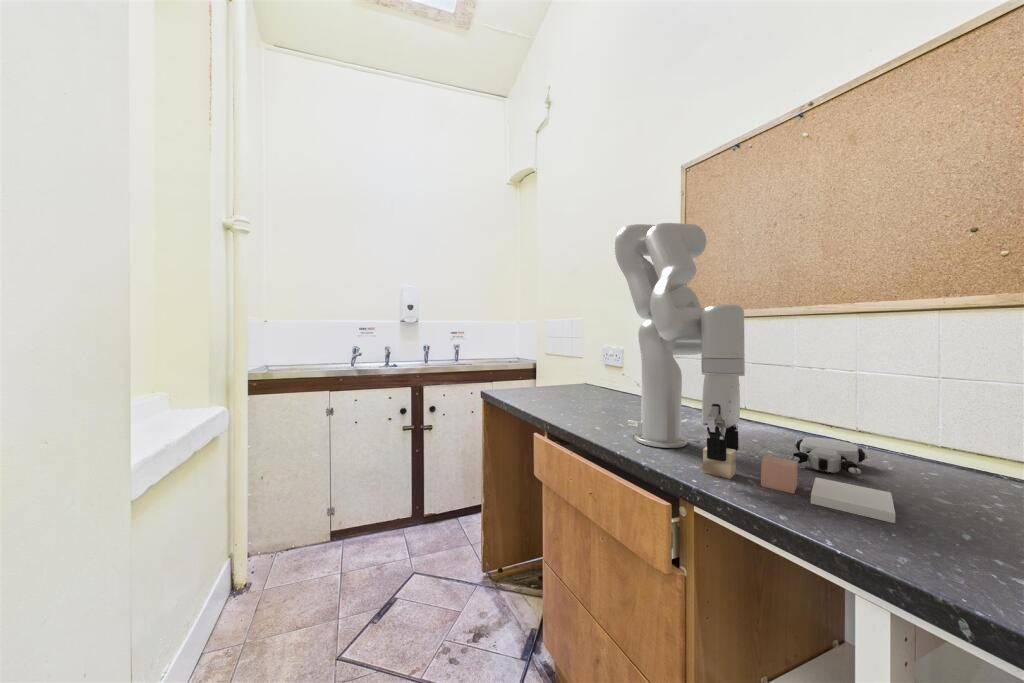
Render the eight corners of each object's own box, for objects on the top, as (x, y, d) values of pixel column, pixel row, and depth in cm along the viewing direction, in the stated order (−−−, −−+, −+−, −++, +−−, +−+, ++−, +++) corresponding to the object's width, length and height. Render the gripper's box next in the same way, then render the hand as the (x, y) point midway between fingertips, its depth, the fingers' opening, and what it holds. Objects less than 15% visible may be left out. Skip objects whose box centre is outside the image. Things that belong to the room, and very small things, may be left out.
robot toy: (863, 488, 73) (867, 463, 84) (864, 465, 73) (868, 442, 84) (785, 471, 82) (797, 450, 93) (785, 450, 82) (798, 432, 92)
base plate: (810, 503, 65) (810, 494, 65) (815, 485, 72) (815, 477, 72) (895, 523, 58) (895, 513, 58) (890, 501, 66) (891, 492, 66)
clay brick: (760, 486, 72) (761, 460, 72) (764, 480, 75) (765, 455, 75) (794, 494, 69) (795, 466, 69) (796, 487, 72) (797, 461, 72)
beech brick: (702, 472, 79) (703, 449, 78) (708, 467, 82) (708, 444, 81) (730, 479, 75) (731, 454, 75) (735, 473, 78) (735, 449, 78)
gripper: (713, 365, 86) (714, 443, 86) (688, 368, 73) (689, 460, 73) (753, 366, 81) (754, 449, 81) (733, 370, 68) (734, 468, 68)
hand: (723, 454), depth 77 cm, fingers open, 9 cm apart
